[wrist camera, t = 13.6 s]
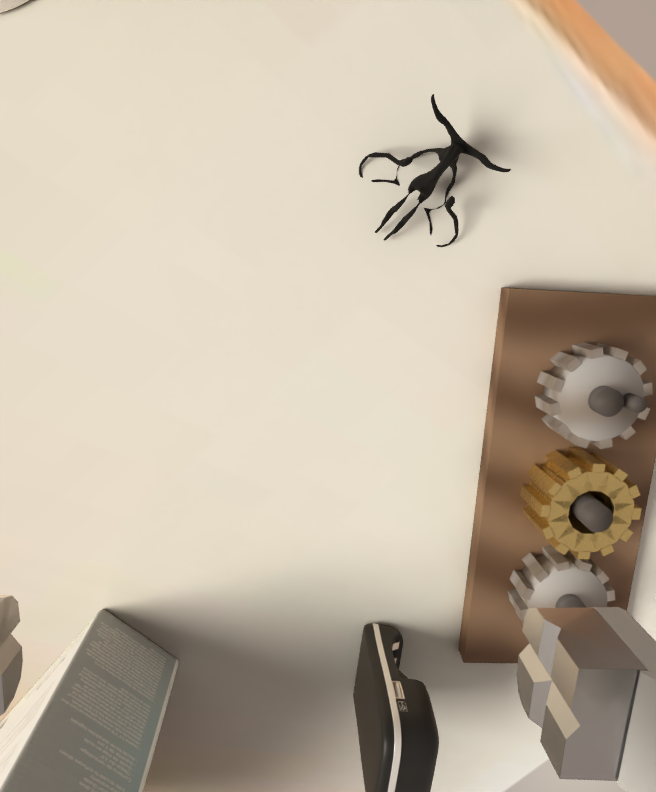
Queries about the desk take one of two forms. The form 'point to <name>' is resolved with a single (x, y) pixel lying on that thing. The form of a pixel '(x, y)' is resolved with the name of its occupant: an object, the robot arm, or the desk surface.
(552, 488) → the brass gear
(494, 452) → the gear board
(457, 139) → the creature
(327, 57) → the desk surface
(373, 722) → the battery charger
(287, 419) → the desk surface
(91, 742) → the hard drive box
